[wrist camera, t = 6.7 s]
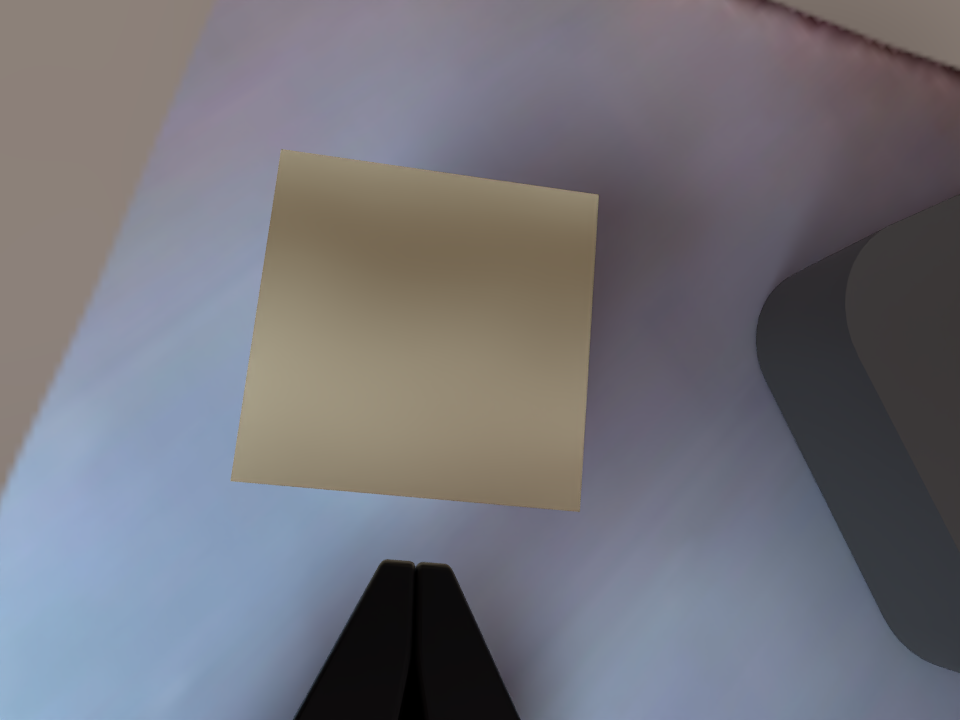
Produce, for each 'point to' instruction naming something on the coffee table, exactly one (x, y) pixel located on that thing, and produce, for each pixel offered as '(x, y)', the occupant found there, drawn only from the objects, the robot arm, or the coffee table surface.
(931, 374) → the streaming box
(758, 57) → the coffee table surface
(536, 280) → the plain birch block
